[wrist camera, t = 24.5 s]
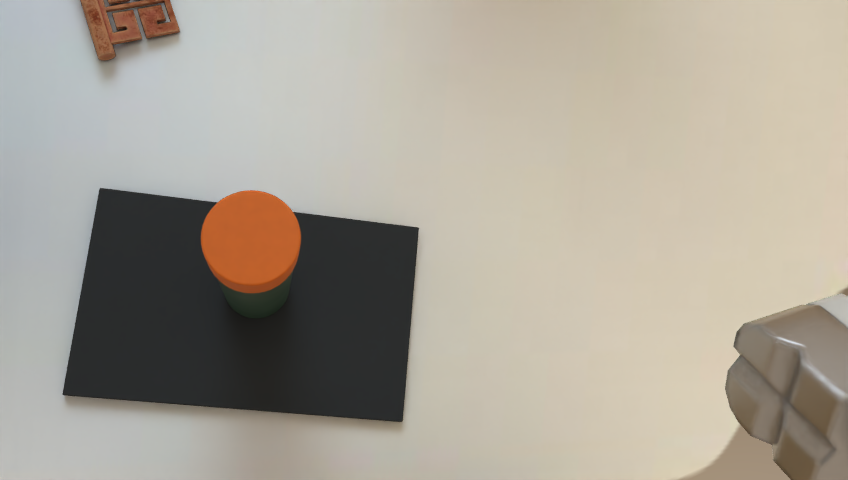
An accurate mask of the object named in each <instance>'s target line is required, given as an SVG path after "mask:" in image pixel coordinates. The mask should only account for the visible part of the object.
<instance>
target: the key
mask: <svg viewBox="0 0 848 480" xmlns="http://www.w3.org/2000/svg"><path fill="white" fill-rule="evenodd" d="M80 1H81V4H82V7H83V10H84V14H85V17H86V20H87V23H88V27H89V30H90V33H91V36H92V39H93V43H94V46H95V49H96V52H97V55H98V59H99V60H110V59H113V58H114V57H115V56H116V55H115V51H114V48H113V45H114V44H120V43H125V42H130V41H136V40H141V39H142V36H141V33H140V30H139V27H138V24H137V21H136V18H135V15H134V11H133V10H129V11H123V12H118V13H112V14H113V18H114V21H115V24H116V28H117V30H118V29H123V28H127V30H124V31H119V32H114V33H113V31H112V28H111V25H110V22H109V19H108V15H107V12H112V11H118V10H124V9H129V8H135V7H141V6H146V5H152V4H158V3H165V6H166V9H167V12H168V15H169V18H170V21H171V22H168V23H162V24H157V22H162V21H166V19H165V16H164V13H163V10H162V7H161V5H157V6H152V7H146V8H140V9H138V13H139V16H140V19H141V22H142V26H143V29H144V32H145V35H146V38H152V37H157V36H162V35H168V34H173V33H178V32H180V30H179V27H178V24H177V21H176V18H175V15H174V12H173V8H172V5H171V2H170V0H144V1H138V2H132V3H126V4H121V5H115V6H109V7H105V5H104V1H103V0H80ZM127 1H130V0H108V2H109V5H110V4H115V3H121V2H127Z"/></svg>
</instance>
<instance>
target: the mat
mask: <svg viewBox="0 0 848 480" xmlns="http://www.w3.org/2000/svg"><path fill="white" fill-rule="evenodd" d="M216 204H217V203H216V202H208V201H200V200H192V199H184V198H176V197H168V196H160V195H152V194H144V193H136V192H128V191H120V190H112V189H104V188H100V190H99V195H98V201H97V207H96V212H95V218H94V223H93V229H92V234H91V240H90V245H89V251H88V256H87V262H86V268H85V273H84V279H83V284H82V290H81V295H80V301H79V306H78V312H77V317H76V323H75V329H74V334H73V340H72V345H71V351H70V356H69V362H68V367H67V373H66V378H65V384H64V390H63V395H68V396H81V397H93V398H106V399H119V400H131V401H144V402H157V403H169V404H182V405H195V406H207V407H220V408H233V409H245V410H258V411H271V412H283V413H296V414H309V415H321V416H334V417H347V418H359V419H372V420H385V421H397V422H402V421H403V410H404V398H405V386H406V374H407V362H408V350H409V338H410V326H411V314H412V302H413V290H414V278H415V266H416V254H417V242H418V230H419V228H417V227H409V226H401V225H393V224H385V223H377V222H369V221H361V220H353V219H345V218H337V217H329V216H321V215H313V214H305V213H297V212H293V213H294V215H295V216H296V218H297V221H298V223H299V227H300V231H301V245H300V250H299V255H298V259H297V263H296V265H295V267H294V269H293V273H292V278H291V284H290V289H289V294H288V297H287V300H286V302H285V303H284V305H283V306H282V307H281V308H280V309H279V310H278V311H277V312H275V313H274V314H272V315H270V316H268V317H264V318H257V319H256V318H248V317H245V316H242V315H240V314H239V313H237V312H236V311H234V310H233V309H232V308H231V307H230V305H229V304H228V302H227V300H226V298H225V295H224V293H223V291H222V289H221V286H220V284H219V282H218V279H217V278H216V277H215V276H214V274H213V273H212V271H211V269H210V267H209V266H208V263H207V261H206V259H205V257H204V254H203V251H202V246H201V231H202V226H203V223H204V220H205V218H206V216H207V215H208V213H209V212H210V210H211V209H212V208H213V207H214V206H215V205H216Z"/></svg>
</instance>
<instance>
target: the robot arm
mask: <svg viewBox="0 0 848 480" xmlns="http://www.w3.org/2000/svg"><path fill="white" fill-rule="evenodd" d="M734 348H735V349H736V350H737V352H738V353H739V354H740V356H739V357H738V359H737V360H736V361H735V362H734V364H733V365H732V366H731V367H730V369H729V370H728V374H727V380H726V386H725V390H726V394H727V398H728V402H729V406H730V408H731V410H732V412H733V414H734V415H735V417H736V419H737V420H738V422H739V423H740V424H741V425H742V427H743V428H744V429H745V430H746V431H747V432H748V433H749V434H750V436H752V437H755V438H757V439H759V440H762V441H764V442H766V443H769V444H771V445H772V450H773V460H774V462H775V463H776V464H777V465H778V466H779V467H780V468H781V469H782V470H783V472H784V473H785V474H786V475H787V476H788V477H789V478H790V479H791V480H848V296H847V295H843V294H837V295H834V296H830V297H827V298H824V299H821V300H818V301H814V302H811V303H808V304H806V305H800V306H797V307H794V308H791V309H787V310H784V311H781V312H778V313H775V314H772V315H769V316H766V317H763V318H760V319H757V320H754V321H751V322H748V323H745V324H743V326H742V327H741V328H740V329H739V330H738V331H737V333H736V337H735V341H734Z"/></svg>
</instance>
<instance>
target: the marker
mask: <svg viewBox="0 0 848 480" xmlns="http://www.w3.org/2000/svg"><path fill="white" fill-rule="evenodd" d="M300 245H301V231H300V227H299V223H298V221H297V218H296V216H295V215H294V213H293V212H292V210H291V209H290V208H289V207H288V206H287V204H285V203H284V202H283V201H282V200H280V199H279V198H277V197H275V196H273V195H271V194H269V193H265V192H261V191H253V190H250V191H241V192H237V193H234V194H231V195H229V196H227V197H225V198H223V199H222V200H220V201H219V202H218V203H217V204H216V205H215V206H214V207H213V208H212V209H211V210H210V212H209V213H208V215H207V216H206V218H205V220H204V223H203V226H202V231H201V246H202V251H203V254H204V257H205V259H206V261H207V263H208V266H209V267H210V269H211V271H212V273H213V274H214V276H215V277H216V278H217V279H218V282H219V284H220V286H221V289H222V291H223V293H224V295H225V298H226V300H227V302H228V304H229V305H230V307H231V308H232V309H233V310H234V311H236V312H237V313H239V314H240V315H242V316H245V317H248V318H256V319H257V318H264V317H268V316H270V315H272V314H274V313H275V312H277V311H278V310H279V309H280V308H281V307H282V306H283V305H284V303H285V302H286V300H287V297H288V294H289V289H290V284H291V278H292V273H293V269H294V267H295V265H296V263H297V259H298V255H299V250H300Z"/></svg>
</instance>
